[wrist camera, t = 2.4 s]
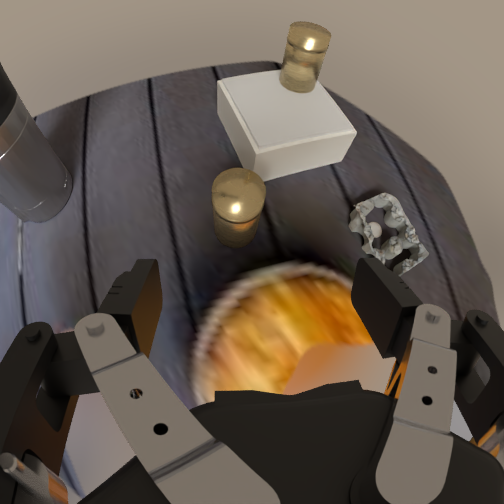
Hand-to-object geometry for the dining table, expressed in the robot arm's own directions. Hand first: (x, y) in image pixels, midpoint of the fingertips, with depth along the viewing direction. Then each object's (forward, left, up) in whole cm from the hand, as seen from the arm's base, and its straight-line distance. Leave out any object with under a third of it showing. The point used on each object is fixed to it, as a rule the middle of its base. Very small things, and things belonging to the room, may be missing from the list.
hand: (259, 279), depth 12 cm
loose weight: (+4, +11, -22) cm, 25 cm away
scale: (+15, +23, -22) cm, 35 cm away
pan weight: (+18, +26, -14) cm, 35 cm away
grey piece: (+21, +3, -22) cm, 31 cm away
